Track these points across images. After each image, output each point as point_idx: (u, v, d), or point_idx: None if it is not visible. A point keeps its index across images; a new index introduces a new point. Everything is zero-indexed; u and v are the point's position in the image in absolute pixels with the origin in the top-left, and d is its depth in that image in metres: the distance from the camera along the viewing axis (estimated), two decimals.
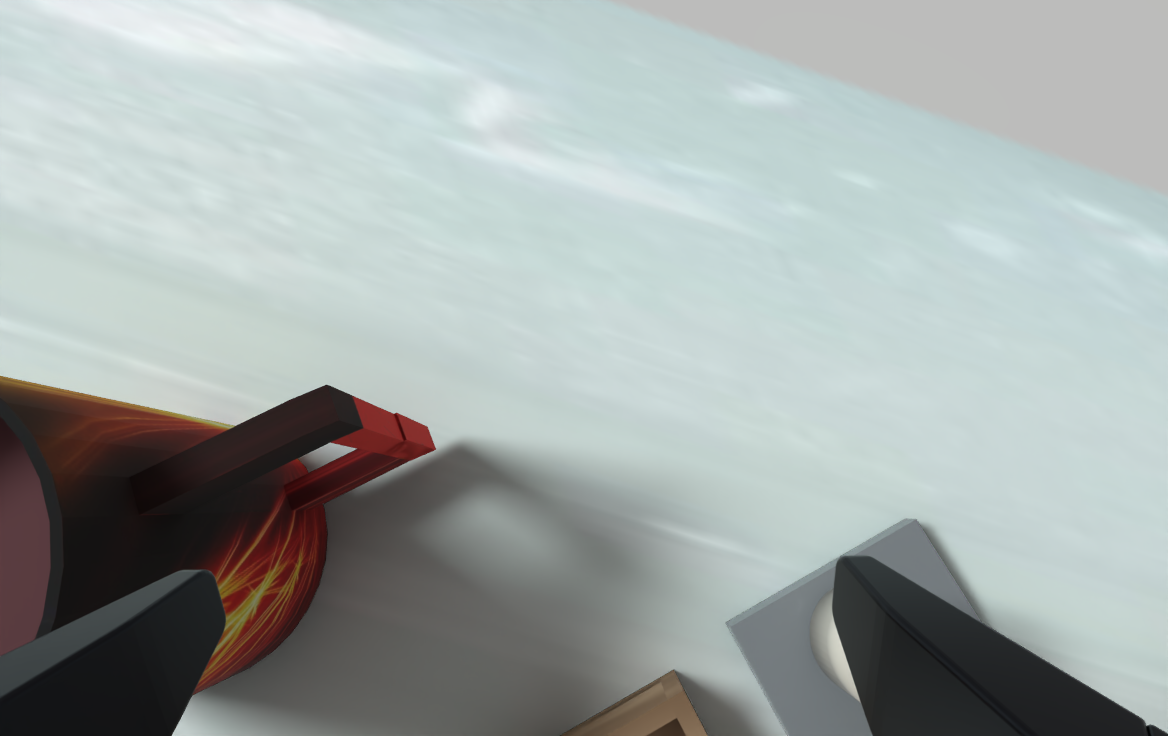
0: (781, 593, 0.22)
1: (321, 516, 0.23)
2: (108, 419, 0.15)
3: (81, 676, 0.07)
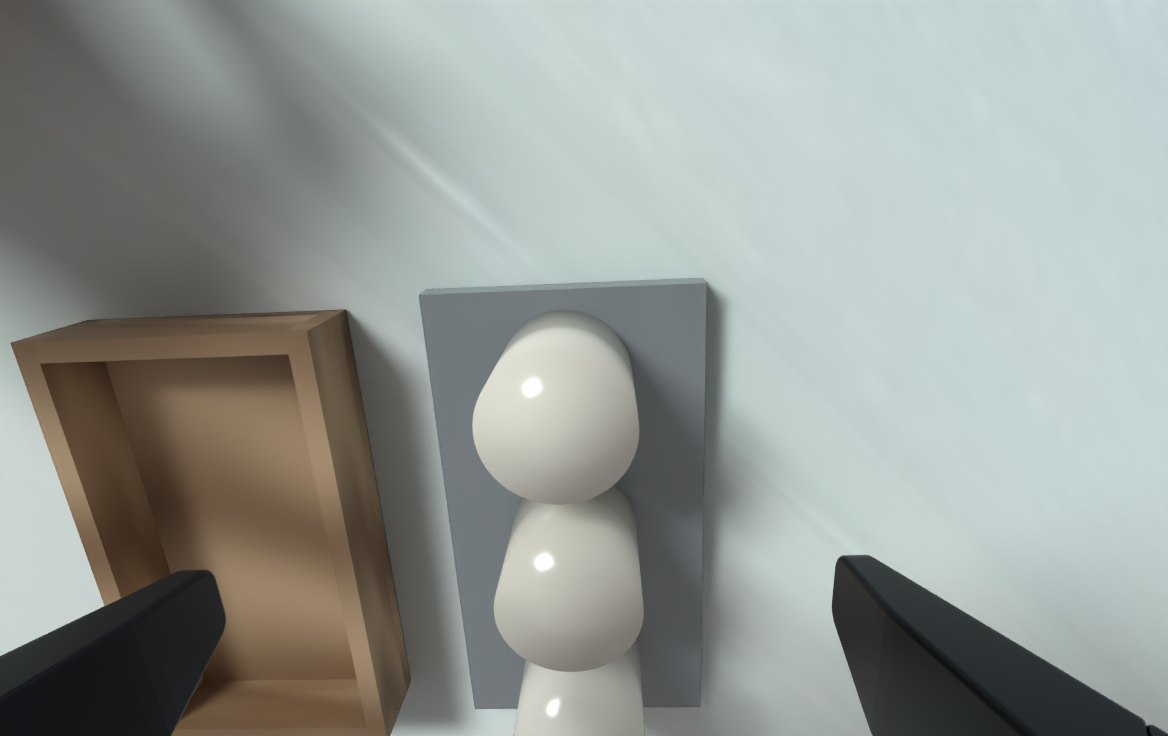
0: (502, 289, 0.17)
1: None
2: None
3: (80, 677, 0.07)
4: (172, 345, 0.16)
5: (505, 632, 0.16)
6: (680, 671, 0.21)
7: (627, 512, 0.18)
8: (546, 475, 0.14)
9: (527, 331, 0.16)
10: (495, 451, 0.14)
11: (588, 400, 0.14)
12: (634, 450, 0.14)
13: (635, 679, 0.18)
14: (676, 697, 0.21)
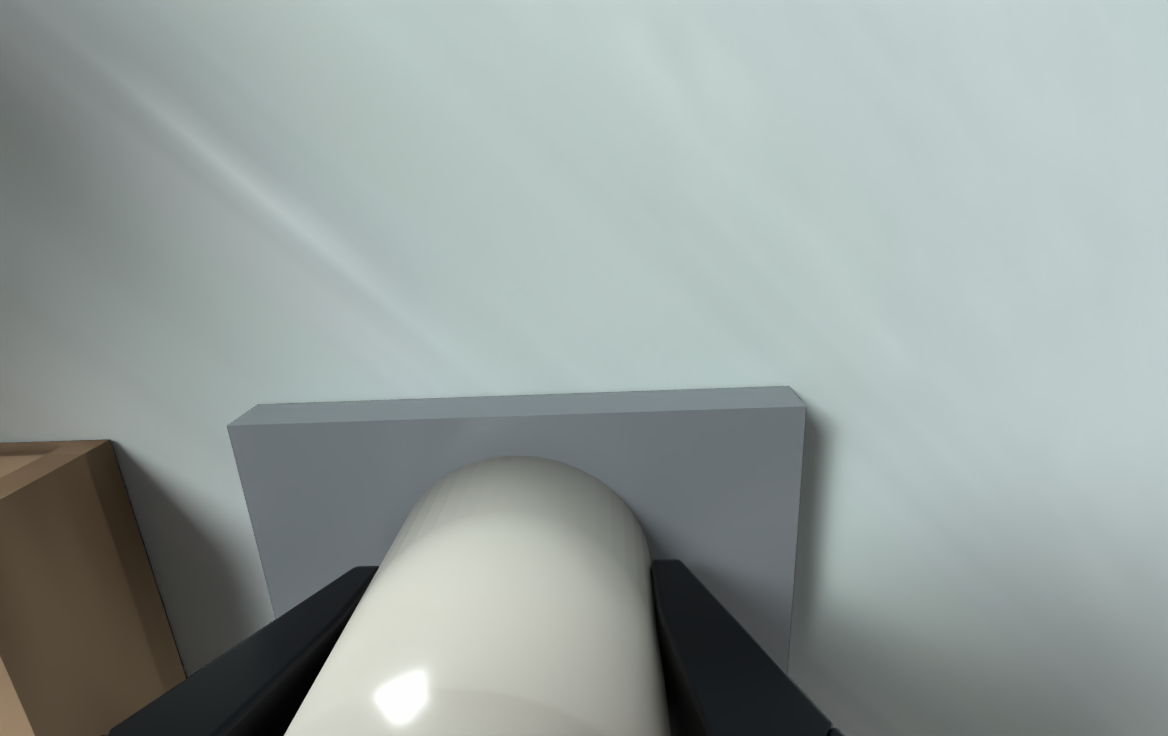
0: (396, 410, 0.09)
1: None
2: None
3: (307, 673, 0.07)
4: None
5: None
6: None
7: None
8: None
9: (427, 529, 0.07)
10: None
11: None
12: None
13: None
14: None
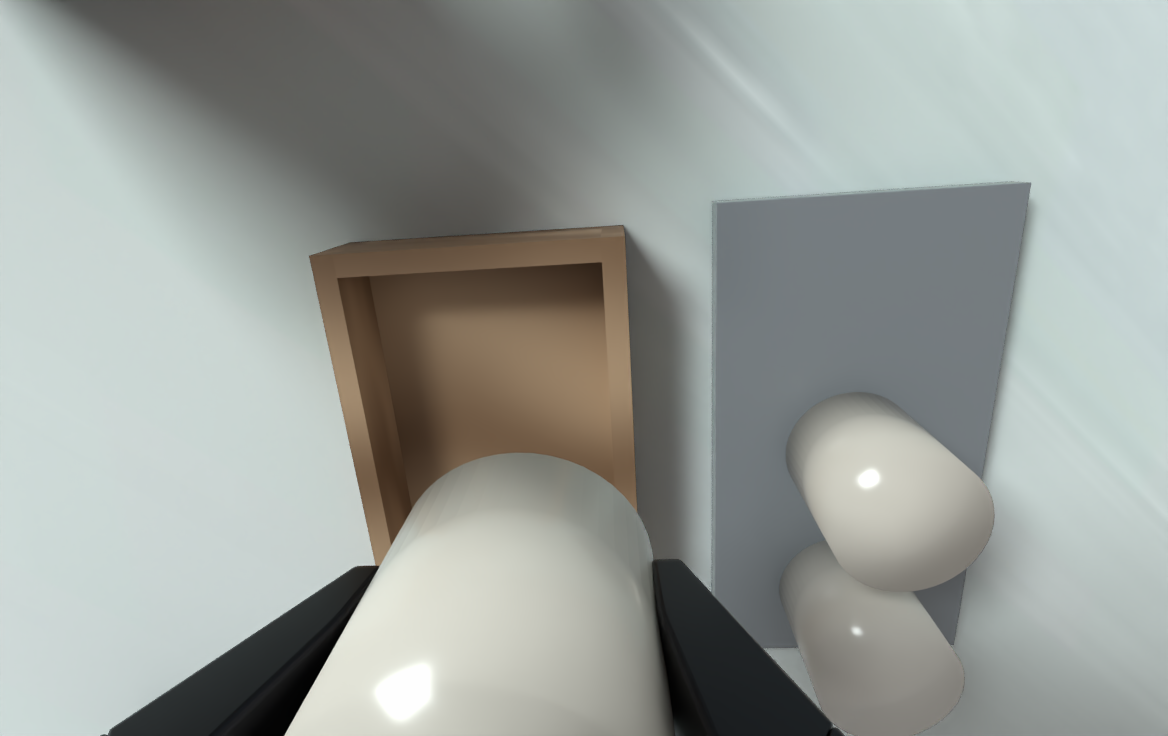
0: (801, 196, 0.16)
1: None
2: None
3: (307, 673, 0.07)
4: (479, 255, 0.15)
5: (838, 548, 0.15)
6: (938, 607, 0.20)
7: None
8: None
9: (429, 526, 0.07)
10: None
11: None
12: None
13: (924, 608, 0.18)
14: None
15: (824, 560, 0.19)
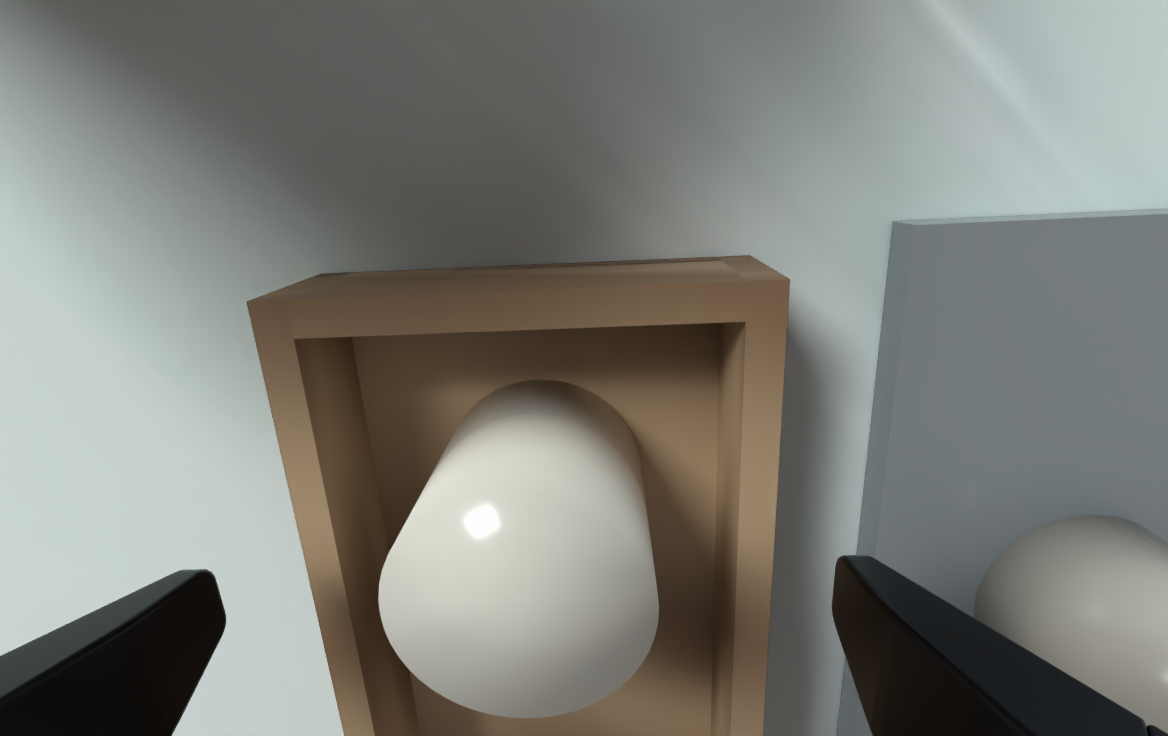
0: (1043, 216, 0.10)
1: None
2: None
3: (81, 677, 0.07)
4: (537, 306, 0.09)
5: None
6: None
7: None
8: (505, 676, 0.09)
9: (480, 422, 0.10)
10: (419, 640, 0.08)
11: (571, 564, 0.08)
12: (650, 641, 0.08)
13: None
14: None
15: None
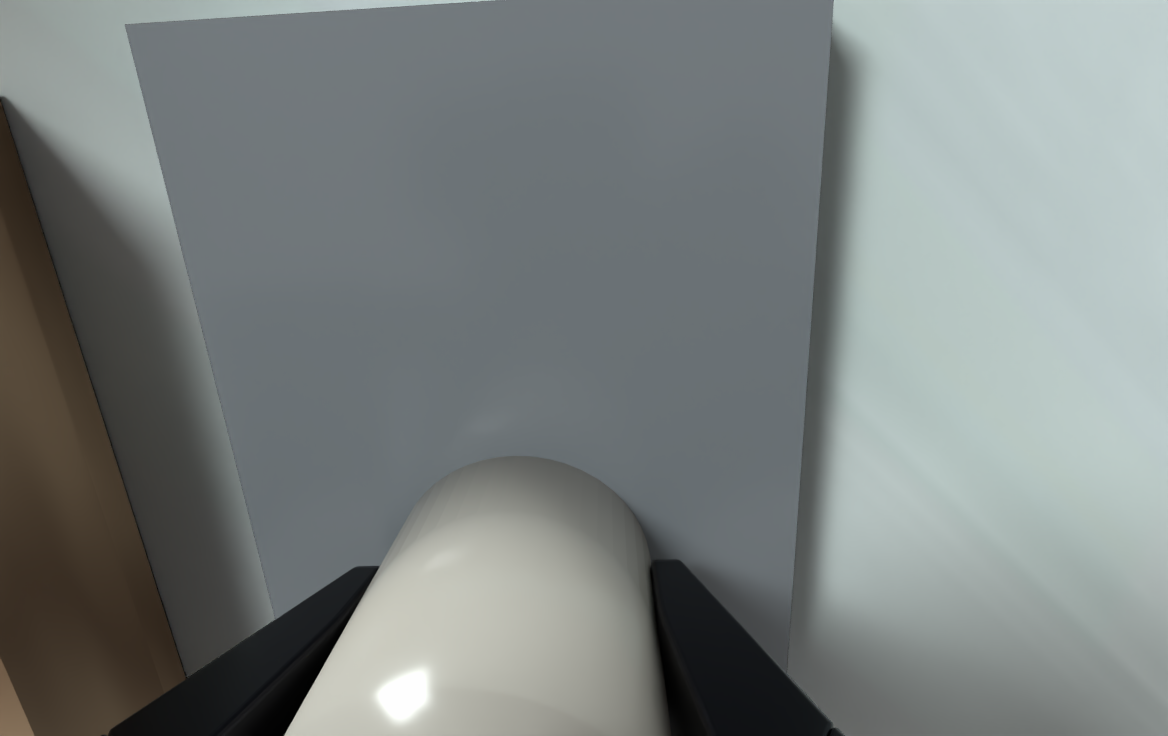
0: (333, 18, 0.07)
1: None
2: None
3: (307, 673, 0.07)
4: None
5: None
6: None
7: (635, 552, 0.08)
8: None
9: None
10: None
11: None
12: None
13: None
14: None
15: None
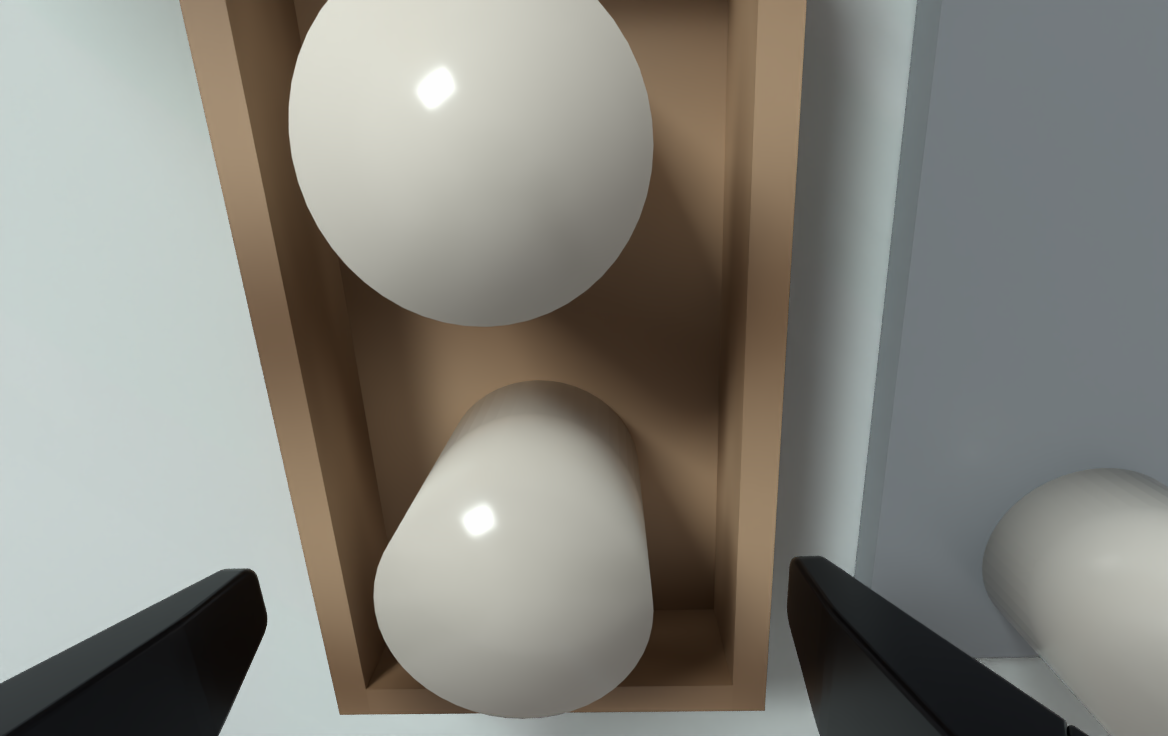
0: None
1: None
2: None
3: (136, 675, 0.07)
4: None
5: (397, 646, 0.08)
6: None
7: (625, 445, 0.11)
8: (482, 261, 0.07)
9: None
10: (364, 234, 0.07)
11: (518, 52, 0.06)
12: (649, 150, 0.06)
13: None
14: None
15: (1092, 502, 0.11)
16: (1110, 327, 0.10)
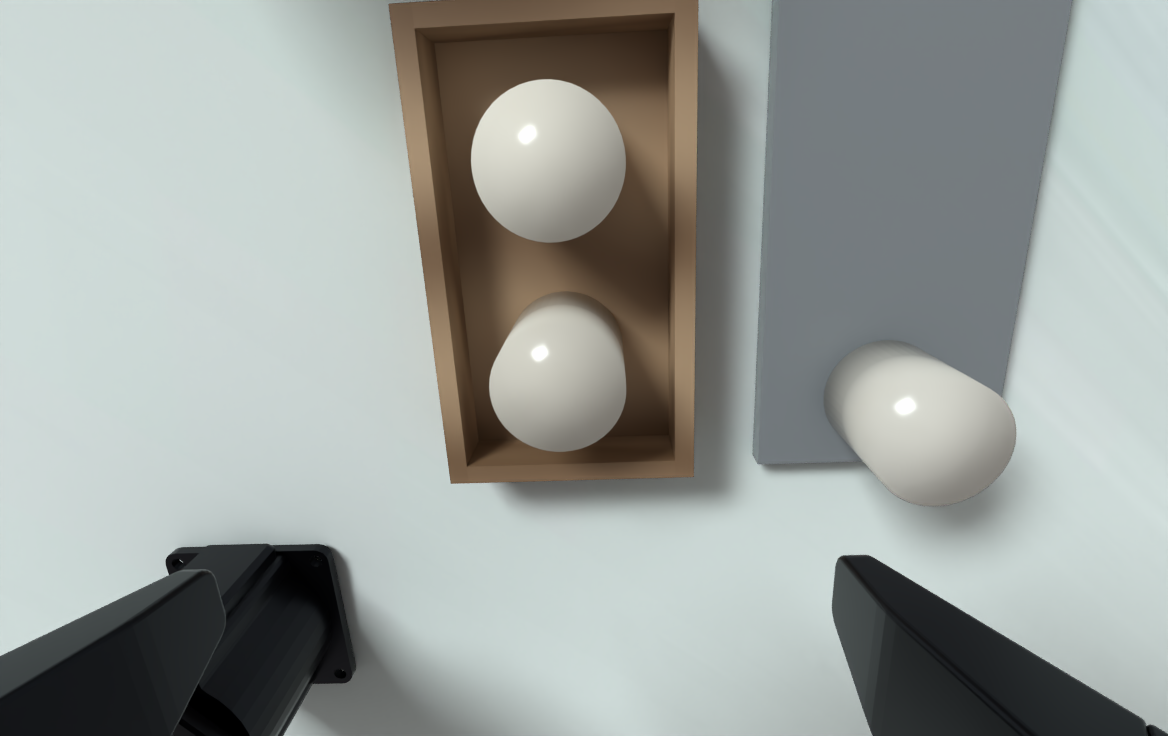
0: None
1: None
2: None
3: (81, 676, 0.07)
4: (555, 4, 0.16)
5: (501, 413, 0.17)
6: None
7: (612, 322, 0.19)
8: (560, 211, 0.15)
9: None
10: (507, 209, 0.15)
11: (561, 120, 0.14)
12: (623, 149, 0.15)
13: None
14: None
15: (872, 354, 0.19)
16: (880, 257, 0.19)
